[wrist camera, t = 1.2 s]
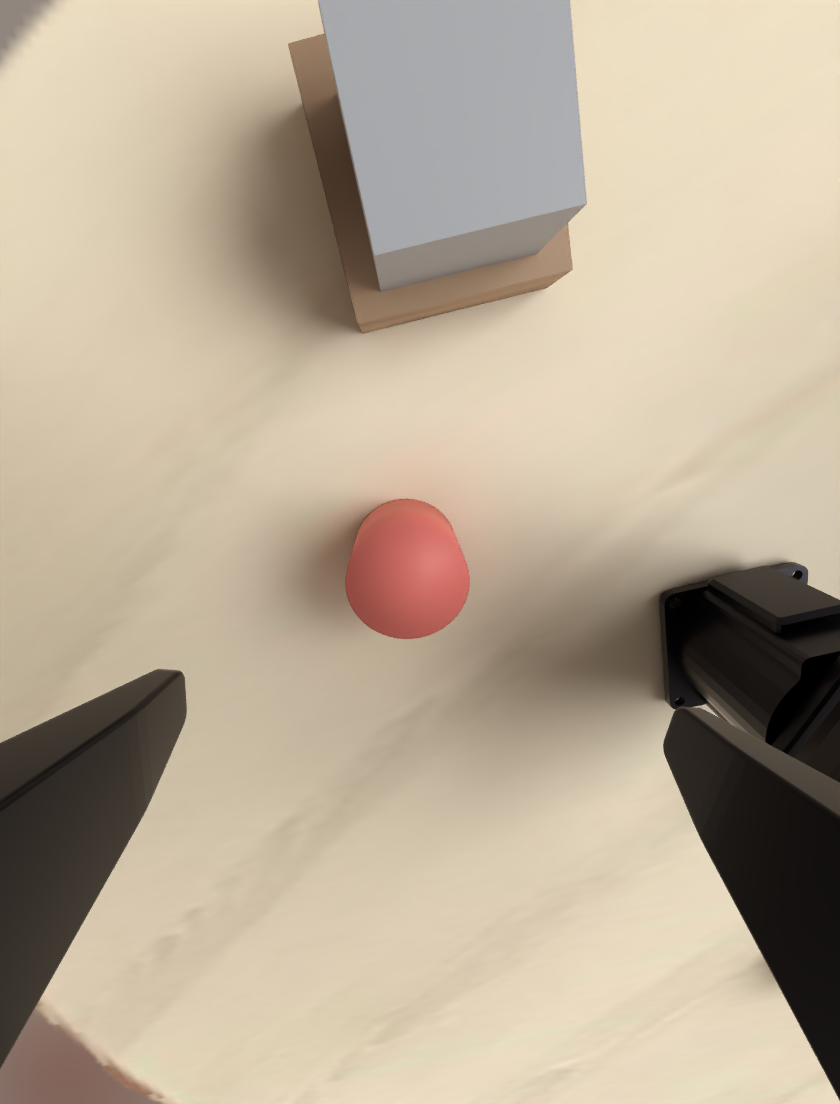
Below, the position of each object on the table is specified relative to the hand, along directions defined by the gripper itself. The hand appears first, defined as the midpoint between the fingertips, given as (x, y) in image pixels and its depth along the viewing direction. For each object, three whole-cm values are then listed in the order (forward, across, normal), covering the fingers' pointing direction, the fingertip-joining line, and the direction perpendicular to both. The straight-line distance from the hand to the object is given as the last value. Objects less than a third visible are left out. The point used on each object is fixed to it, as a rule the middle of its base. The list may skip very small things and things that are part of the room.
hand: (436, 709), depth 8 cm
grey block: (+9, +1, -11) cm, 15 cm away
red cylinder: (+12, 0, +1) cm, 12 cm away
